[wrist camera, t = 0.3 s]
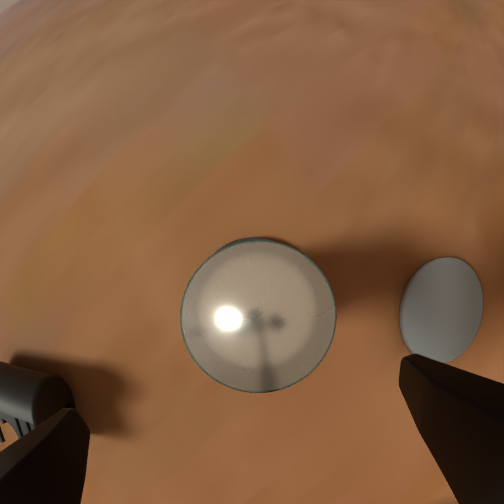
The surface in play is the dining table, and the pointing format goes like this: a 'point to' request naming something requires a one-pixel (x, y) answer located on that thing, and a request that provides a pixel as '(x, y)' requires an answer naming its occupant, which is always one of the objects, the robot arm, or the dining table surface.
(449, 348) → the coaster
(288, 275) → the drinking glass
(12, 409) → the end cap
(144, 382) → the dining table surface
